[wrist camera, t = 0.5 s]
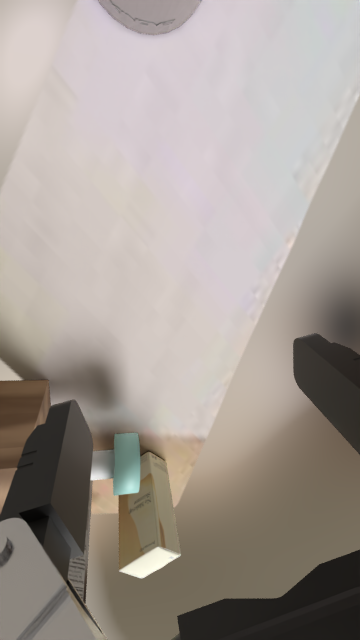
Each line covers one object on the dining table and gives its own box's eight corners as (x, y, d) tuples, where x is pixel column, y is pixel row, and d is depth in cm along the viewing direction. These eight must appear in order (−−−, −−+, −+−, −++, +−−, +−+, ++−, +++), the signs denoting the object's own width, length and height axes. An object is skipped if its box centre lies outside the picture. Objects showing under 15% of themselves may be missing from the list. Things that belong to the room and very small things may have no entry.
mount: (-22, 381, 31) (-80, 476, 22) (48, 380, 33) (22, 467, 23) (-5, 455, 37) (-46, 557, 27) (54, 451, 38) (35, 545, 29)
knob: (6, 428, 30) (-16, 483, 25) (137, 421, 33) (141, 468, 28) (13, 466, 33) (-5, 522, 28) (133, 456, 36) (137, 505, 31)
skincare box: (148, 449, 42) (160, 545, 31) (167, 461, 44) (184, 554, 34) (115, 473, 43) (116, 573, 32) (135, 483, 45) (142, 581, 35)
